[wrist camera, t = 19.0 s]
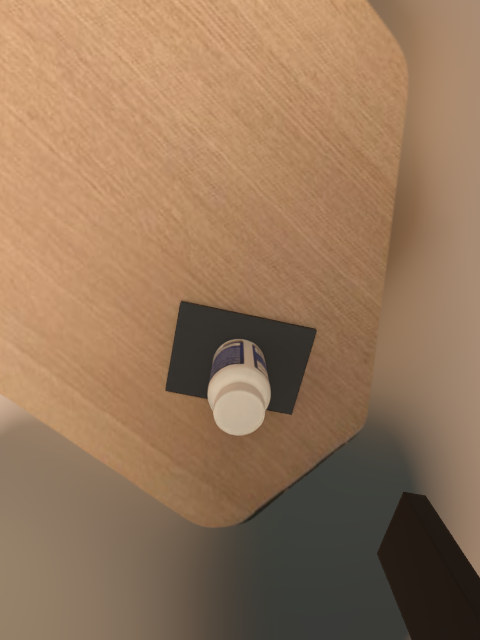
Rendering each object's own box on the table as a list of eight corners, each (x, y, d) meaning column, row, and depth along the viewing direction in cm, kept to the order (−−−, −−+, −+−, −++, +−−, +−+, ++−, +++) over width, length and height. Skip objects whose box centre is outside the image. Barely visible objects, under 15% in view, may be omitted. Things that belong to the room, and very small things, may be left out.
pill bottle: (207, 377, 36) (195, 434, 26) (220, 331, 34) (214, 374, 25) (256, 390, 36) (262, 451, 27) (271, 345, 35) (283, 393, 25)
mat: (315, 328, 35) (316, 330, 34) (290, 412, 37) (291, 415, 37) (181, 300, 34) (180, 302, 33) (166, 388, 37) (165, 390, 36)
